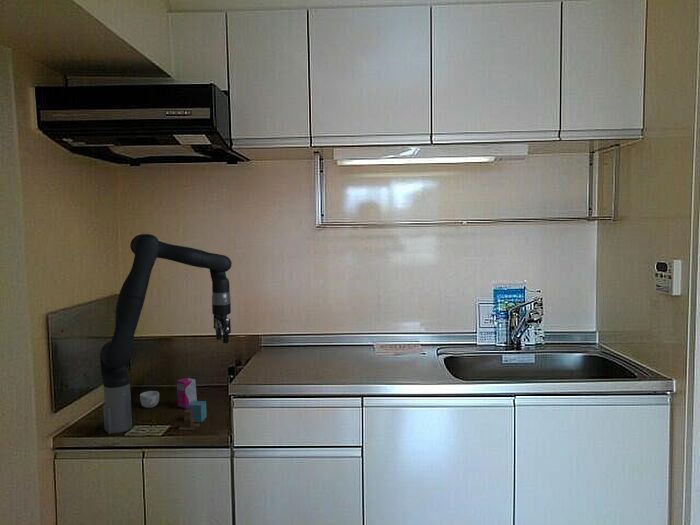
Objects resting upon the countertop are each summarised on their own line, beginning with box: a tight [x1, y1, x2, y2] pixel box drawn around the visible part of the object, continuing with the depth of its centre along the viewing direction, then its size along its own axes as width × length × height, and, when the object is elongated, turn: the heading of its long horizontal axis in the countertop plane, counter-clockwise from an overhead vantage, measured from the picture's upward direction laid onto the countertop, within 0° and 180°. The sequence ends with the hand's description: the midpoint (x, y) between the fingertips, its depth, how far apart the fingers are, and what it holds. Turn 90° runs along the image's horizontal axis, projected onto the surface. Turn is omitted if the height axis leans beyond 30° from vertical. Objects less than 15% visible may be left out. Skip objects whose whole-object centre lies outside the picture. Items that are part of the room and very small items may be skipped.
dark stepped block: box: [178, 409, 201, 431], centre depth 219 cm, size 6×6×6 cm
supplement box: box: [176, 377, 198, 410], centre depth 243 cm, size 6×6×12 cm
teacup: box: [139, 390, 160, 409], centre depth 244 cm, size 10×8×5 cm
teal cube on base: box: [187, 400, 208, 423], centre depth 227 cm, size 5×5×7 cm
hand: (222, 341), depth 242 cm, fingers open, 8 cm apart
